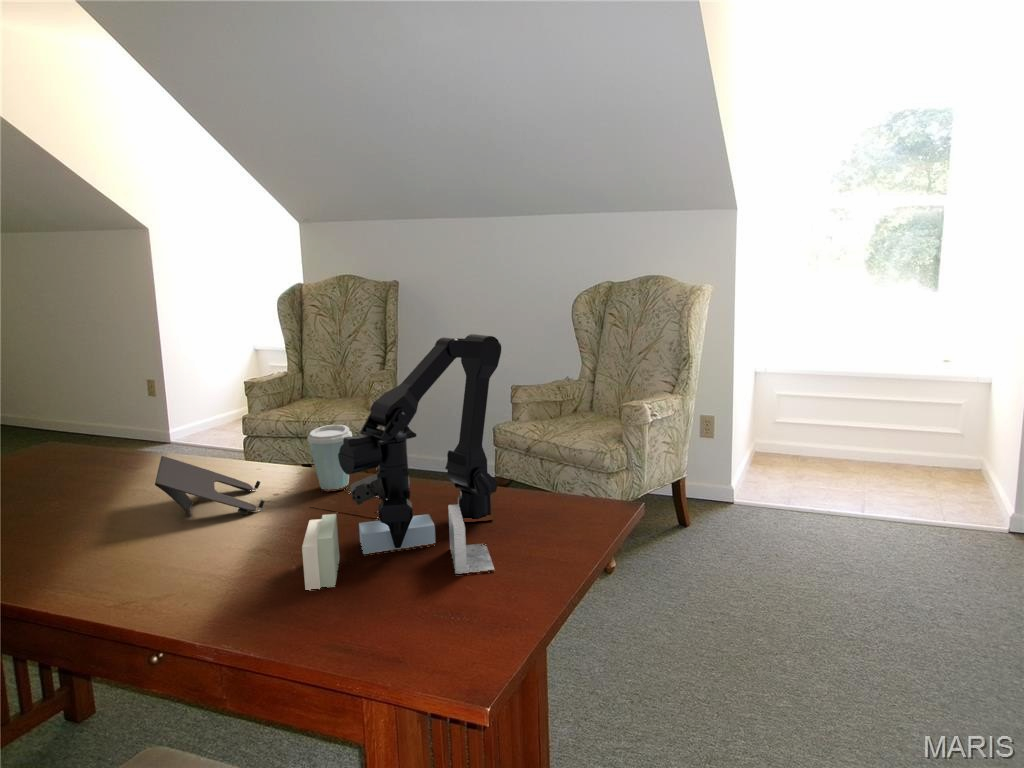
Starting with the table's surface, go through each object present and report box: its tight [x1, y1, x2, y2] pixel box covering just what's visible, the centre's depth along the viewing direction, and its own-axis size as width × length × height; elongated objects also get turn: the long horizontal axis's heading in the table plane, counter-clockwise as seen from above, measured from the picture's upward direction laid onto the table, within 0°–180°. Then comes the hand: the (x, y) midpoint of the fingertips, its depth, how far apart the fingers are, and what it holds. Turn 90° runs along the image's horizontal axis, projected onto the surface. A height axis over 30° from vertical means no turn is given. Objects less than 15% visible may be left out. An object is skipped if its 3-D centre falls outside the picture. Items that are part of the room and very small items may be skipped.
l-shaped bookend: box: [447, 503, 495, 574], centre depth 140 cm, size 7×12×9 cm, turn 9°
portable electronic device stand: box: [154, 455, 265, 517], centre depth 172 cm, size 23×23×9 cm
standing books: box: [301, 513, 340, 591], centre depth 135 cm, size 5×13×9 cm, turn 9°
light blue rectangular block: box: [358, 513, 437, 554], centre depth 149 cm, size 14×6×4 cm, turn 107°
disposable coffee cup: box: [307, 424, 353, 490], centre depth 183 cm, size 11×11×15 cm
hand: (397, 538), depth 149 cm, fingers open, 9 cm apart
